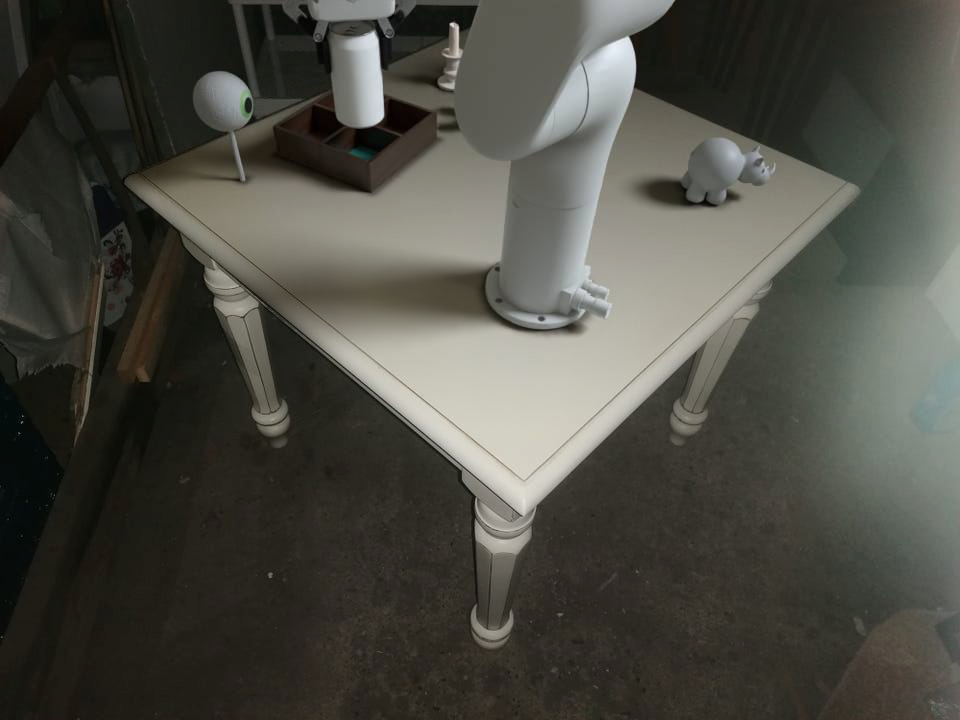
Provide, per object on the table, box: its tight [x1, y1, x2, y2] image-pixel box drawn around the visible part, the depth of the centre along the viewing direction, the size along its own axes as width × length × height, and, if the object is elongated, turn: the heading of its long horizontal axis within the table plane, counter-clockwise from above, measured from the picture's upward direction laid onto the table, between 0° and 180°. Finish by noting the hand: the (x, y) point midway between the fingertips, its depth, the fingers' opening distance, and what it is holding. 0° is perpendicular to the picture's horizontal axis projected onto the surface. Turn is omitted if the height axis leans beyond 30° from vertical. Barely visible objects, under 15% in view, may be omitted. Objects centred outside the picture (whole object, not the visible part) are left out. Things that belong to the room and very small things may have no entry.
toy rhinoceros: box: [680, 136, 776, 206], centre depth 93 cm, size 7×12×8 cm, turn 86°
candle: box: [437, 20, 464, 92], centre depth 110 cm, size 5×5×10 cm
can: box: [327, 20, 384, 129], centre depth 86 cm, size 6×6×12 cm
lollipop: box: [192, 70, 254, 182], centre depth 87 cm, size 7×7×15 cm
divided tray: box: [271, 88, 438, 193], centre depth 98 cm, size 17×17×4 cm
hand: (355, 66), depth 85 cm, fingers closed on can, 6 cm apart
